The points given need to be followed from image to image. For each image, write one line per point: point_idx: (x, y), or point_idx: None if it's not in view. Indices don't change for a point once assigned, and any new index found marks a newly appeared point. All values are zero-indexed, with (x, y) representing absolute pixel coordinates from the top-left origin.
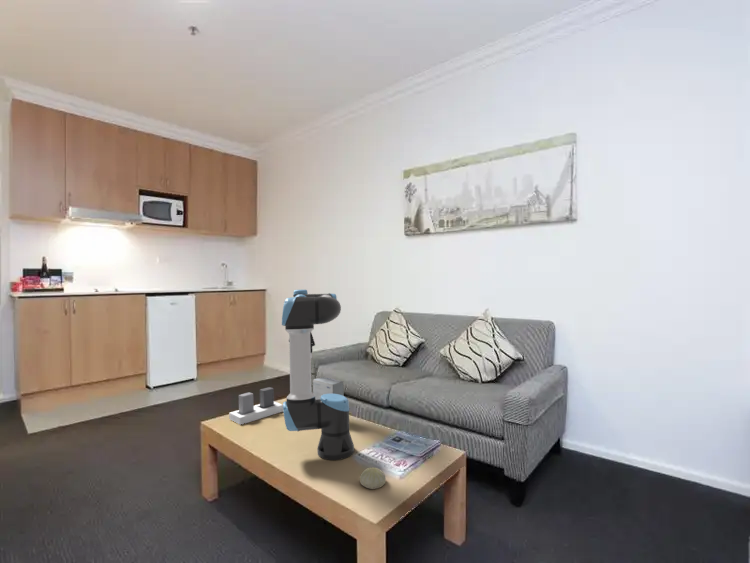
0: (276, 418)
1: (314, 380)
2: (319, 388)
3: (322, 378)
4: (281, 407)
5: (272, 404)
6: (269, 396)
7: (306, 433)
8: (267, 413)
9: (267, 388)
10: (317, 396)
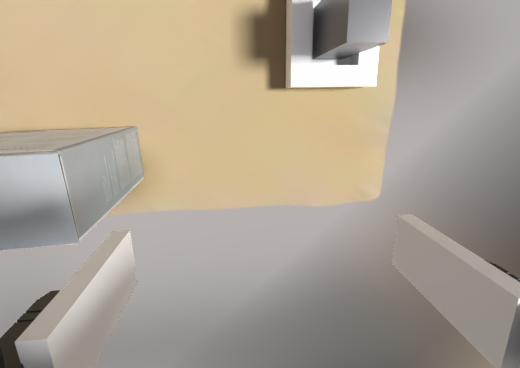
0: (237, 19)
1: (37, 152)
2: (9, 146)
3: (38, 214)
4: (288, 78)
5: (320, 47)
6: (334, 21)
7: (7, 5)
8: (288, 4)
9: (375, 17)
10: (61, 138)
